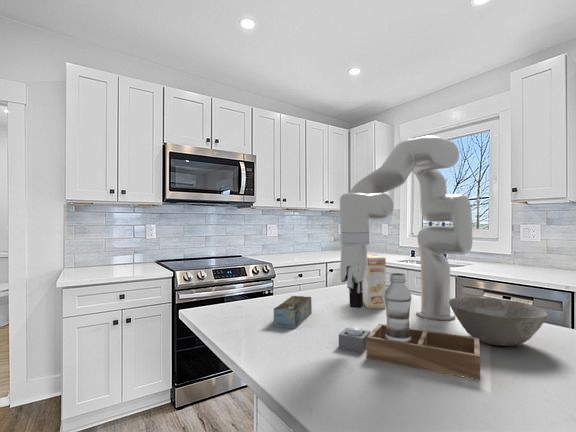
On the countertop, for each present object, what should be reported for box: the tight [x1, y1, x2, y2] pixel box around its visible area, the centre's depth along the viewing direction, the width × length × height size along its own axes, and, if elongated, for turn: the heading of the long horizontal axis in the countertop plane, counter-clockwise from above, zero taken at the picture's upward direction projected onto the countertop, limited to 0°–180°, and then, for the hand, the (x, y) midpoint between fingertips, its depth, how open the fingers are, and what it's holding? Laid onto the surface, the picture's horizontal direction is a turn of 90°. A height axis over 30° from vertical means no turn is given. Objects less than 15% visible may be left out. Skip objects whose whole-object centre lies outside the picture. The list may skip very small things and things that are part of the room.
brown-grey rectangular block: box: [273, 295, 313, 329], centre depth 114 cm, size 8×19×7 cm, turn 160°
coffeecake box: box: [362, 253, 387, 310], centre depth 136 cm, size 15×7×20 cm, turn 179°
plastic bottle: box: [384, 272, 412, 343], centre depth 84 cm, size 6×7×20 cm
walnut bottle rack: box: [366, 323, 481, 381], centre depth 82 cm, size 12×24×5 cm, turn 61°
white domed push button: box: [346, 325, 363, 337], centre depth 90 cm, size 4×4×2 cm
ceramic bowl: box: [449, 296, 548, 347], centre depth 93 cm, size 22×23×10 cm
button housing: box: [338, 327, 371, 353], centre depth 90 cm, size 7×7×4 cm
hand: (356, 306), depth 90 cm, fingers closed
